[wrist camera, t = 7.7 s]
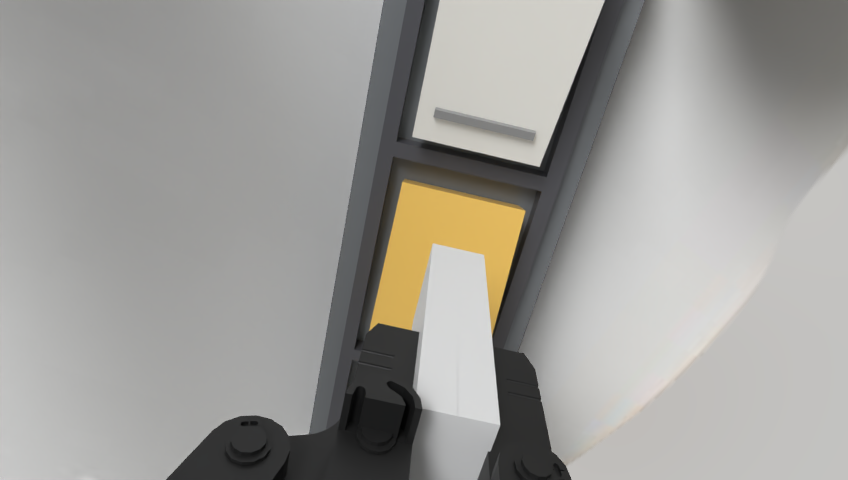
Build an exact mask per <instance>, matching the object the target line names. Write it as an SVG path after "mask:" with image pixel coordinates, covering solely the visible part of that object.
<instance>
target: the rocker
mask: <svg viewBox="0 0 848 480" xmlns="http://www.w3.org/2000/svg"><path fill="white" fill-rule="evenodd" d="M604 1H605V0H440V1H439V6H438V11H437V16H436V21H435V26H434V31H433V36H432V41H431V46H430V51H429V56H428V61H427V66H426V71H425V76H424V80H423V85H422V90H421V95H420V100H419V105H418V110H417V115H416V120H415V125H414V130H413V135H412V137H415V138H419V139H423V140H427V141H432V142H436V143H440V144H444V145H449V146H453V147H457V148H461V149H466V150H470V151H474V152H478V153H483V154H487V155H491V156H495V157H499V158H504V159H508V160H512V161H516V162H521V163H525V164H529V165H533V166H538V167H540V164H541V162H542V159H543V157H544V154H545V151H546V149H547V146H548V144H549V141H550V139H551V136H552V134H553V131H554V129H555V126H556V123H557V121H558V118H559V116H560V113H561V111H562V108H563V106H564V103H565V101H566V98H567V95H568V93H569V90H570V88H571V85H572V83H573V80H574V78H575V75H576V73H577V70H578V67H579V65H580V62H581V60H582V57H583V55H584V52H585V50H586V47H587V45H588V42H589V39H590V37H591V34H592V32H593V29H594V27H595V24H596V22H597V19H598V17H599V14H600V11H601V9H602V6H603V4H604Z"/></svg>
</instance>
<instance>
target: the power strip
mask: <svg viewBox="0 0 848 480" xmlns="http://www.w3.org/2000/svg"><path fill="white" fill-rule="evenodd" d="M439 1H440V0H384V2H383V8H382V14H381V20H380V25H379V31H378V37H377V43H376V49H375V54H374V60H373V66H372V72H371V78H370V83H369V89H368V95H367V101H366V107H365V112H364V118H363V124H362V130H361V136H360V141H359V147H358V153H357V159H356V165H355V170H354V176H353V182H352V188H351V194H350V199H349V205H348V211H347V217H346V223H345V228H344V234H343V240H342V246H341V252H340V257H339V263H338V269H337V275H336V281H335V286H334V292H333V298H332V304H331V310H330V315H329V321H328V327H327V333H326V339H325V344H324V350H323V356H322V362H321V368H320V374H319V379H318V385H317V391H316V397H315V403H314V408H313V414H312V420H311V426H310V432H309V434H315V433H319V432H321V431H324V430H327V429H328V428H330V427H331V426H333V425H334V424H336V423H337V422H338V421H339V419H340V417H341V412H342V407H343V402H344V397H345V393H346V391H347V389H348V388H349V386H350V384H351V383H353V379H354V376H355V372H356V369H357V365H358V361H359V358H360V354H361V351H362V347H363V343H364V340H365V336H366V334H367V333H368V332H369V329H370V324H371V320H372V315H373V311H374V306H375V302H376V298H377V293H378V289H379V284H380V280H381V275H382V271H383V266H384V262H385V257H386V253H387V248H388V244H389V239H390V235H391V231H392V226H393V222H394V217H395V213H396V208H397V204H398V199H399V195H400V190H401V186H402V182H403V180H404V179H408V180H412V181H416V182H421V183H425V184H429V185H434V186H438V187H442V188H446V189H451V190H455V191H459V192H463V193H468V194H472V195H476V196H481V197H485V198H489V199H493V200H498V201H502V202H506V203H510V204H515V205H518V206H520V207H521V208H523V209H524V210H525V215H524V219H523V222H522V226H521V230H520V234H519V237H518V241H517V245H516V248H515V252H514V256H513V260H512V263H511V267H510V271H509V275H508V278H507V282H506V286H505V289H504V293H503V297H502V301H501V304H500V308H499V312H498V315H497V319H496V323H495V327H494V330H493V334H492V343H493V347H496V348H501V349H506V350H510V351H515V352H518V350H519V347H520V344H521V341H522V339H523V336H524V333H525V330H526V328H527V325H528V322H529V319H530V316H531V314H532V311H533V308H534V305H535V303H536V300H537V297H538V294H539V292H540V289H541V286H542V283H543V281H544V278H545V275H546V272H547V269H548V267H549V264H550V261H551V258H552V256H553V253H554V250H555V247H556V245H557V242H558V239H559V236H560V233H561V231H562V228H563V225H564V222H565V220H566V217H567V214H568V211H569V209H570V206H571V203H572V200H573V198H574V195H575V192H576V189H577V186H578V184H579V181H580V178H581V175H582V173H583V170H584V167H585V164H586V162H587V159H588V156H589V153H590V150H591V148H592V145H593V142H594V139H595V137H596V134H597V131H598V128H599V126H600V123H601V120H602V117H603V115H604V112H605V109H606V106H607V103H608V101H609V98H610V95H611V92H612V90H613V87H614V84H615V81H616V79H617V76H618V73H619V70H620V68H621V65H622V62H623V59H624V56H625V54H626V51H627V48H628V45H629V43H630V40H631V37H632V34H633V32H634V29H635V26H636V23H637V20H638V18H639V15H640V12H641V9H642V7H643V4H644V1H645V0H605V1H604V4H603V6H602V9H601V11H600V14H599V17H598V19H597V22H596V24H595V27H594V29H593V32H592V34H591V37H590V39H589V42H588V45H587V47H586V50H585V52H584V55H583V57H582V60H581V62H580V65H579V67H578V70H577V73H576V75H575V78H574V80H573V83H572V85H571V88H570V90H569V93H568V95H567V98H566V101H565V103H564V106H563V108H562V111H561V113H560V116H559V118H558V121H557V123H556V126H555V129H554V131H553V134H552V136H551V139H550V141H549V144H548V146H547V149H546V151H545V154H544V157H543V159H542V162H541V164H540V167H538V166H533V165H529V164H525V163H521V162H516V161H512V160H508V159H504V158H499V157H495V156H491V155H487V154H483V153H478V152H474V151H470V150H466V149H461V148H457V147H453V146H449V145H444V144H440V143H436V142H432V141H427V140H423V139H419V138H415V137H412V135H413V130H414V125H415V120H416V115H417V110H418V105H419V100H420V95H421V90H422V85H423V80H424V76H425V71H426V66H427V61H428V56H429V51H430V46H431V41H432V36H433V31H434V26H435V21H436V16H437V11H438V6H439Z"/></svg>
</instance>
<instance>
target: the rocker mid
mask: <svg viewBox="0 0 848 480" xmlns="http://www.w3.org/2000/svg"><path fill="white" fill-rule="evenodd" d="M524 215H525V210H524V209H523V208H521V207H520V206H518V205H515V204H510V203H506V202H502V201H498V200H493V199H489V198H485V197H481V196H476V195H472V194H468V193H463V192H459V191H455V190H451V189H446V188H442V187H438V186H434V185H429V184H425V183H421V182H416V181H412V180H408V179H404V180H403V182H402V186H401V190H400V195H399V199H398V204H397V208H396V213H395V217H394V222H393V226H392V231H391V235H390V239H389V244H388V248H387V253H386V257H385V262H384V266H383V271H382V275H381V280H380V284H379V289H378V293H377V298H376V302H375V306H374V311H373V315H372V320H371V324H370V329H369V331H370V330H371V329H372V328H373V327H374V326H375V325H377V324H378V323H380V324H385V325H390V326H394V327H399V328H403V329H408V330H412V324H413V319H414V315H415V311H416V307H417V303H418V300H419V296H420V292H421V288H422V284H423V280H424V276H425V272H426V268H427V264H428V260H429V256H430V252H431V248H432V244H433V243H434V244H438V245H443V246H447V247H452V248H456V249H460V250H465V251H469V252H474V253H478V254H482V255H484V259H485V269H486V280H487V290H488V301H489V311H490V322H491V332H492V334H493V330H494V327H495V323H496V319H497V315H498V312H499V308H500V304H501V301H502V297H503V293H504V289H505V286H506V282H507V278H508V275H509V271H510V267H511V263H512V260H513V256H514V252H515V248H516V245H517V241H518V237H519V234H520V230H521V226H522V222H523V219H524Z"/></svg>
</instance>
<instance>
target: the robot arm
mask: <svg viewBox="0 0 848 480" xmlns="http://www.w3.org/2000/svg"><path fill="white" fill-rule="evenodd" d="M540 401H541V397H540V392H539V389H538V382H537V377H536V372H535V369H534V367H533V366H532V364H531V363H530V362H529V360H528V359H527V357H526V356H525V355H524V353H519V352H515V351H510V350H506V349H501V348H496V347H493V343H492V332H491V322H490V311H489V301H488V290H487V280H486V269H485V259H484V255H482V254H478V253H474V252H469V251H465V250H460V249H456V248H452V247H447V246H443V245H438V244H434V243H433V244H432V248H431V252H430V256H429V260H428V264H427V268H426V272H425V276H424V280H423V284H422V288H421V292H420V296H419V300H418V303H417V307H416V311H415V315H414V319H413V324H412V330H408V329H403V328H399V327H394V326H390V325H385V324H380V323H378V324H377V325H375V326H374V327H373V328H372V329H371V330H370V331H369V332H368V333H367V334H366V336H365V340H364V343H363V347H362V351H361V354H360V358H359V361H358V365H357V369H356V372H355V376H354V379H353V383H351V384H350V386H349V388H348V389H347V391H346V393H345V397H344V402H343V407H342V412H341V417H340V419H339V421H338V422H337V423H336V424H334V425H333V426H331V427H330V428H328V429H327V430H324V431H321V432H319V433H315V434H308V435H297V436H288V435H287V433H286V432H285V430H284V428H283V427H282V426H281V425H279V424H278V423H276V422H274V421H273V420H271V419H268V418H264V417H260V416H240V417H237V418H234V419H231V420H228V421H225V422H224V423H222V424H221V425H220V426H218V427H217V428H216V429H214V430H213V431H212V432H211V433H210V434H209V435H208V436H207V437H206V438H205V439H204V440H203V441H202V442H201V443H200V445H199V446H198V447H197V448H196V449H195V450H194V451H193V452H192V453H191V454H190V455H189V456H188V457H187V458H186V459H185V460H184V461H183V462H182V463H181V464H180V466H179V467H178V468H177V469H176V470H175V471H174V472H173V473H172V474H171V475H170V476H169V477H168V478H167V479H166V480H571V477H570V475H569V473H568V470H567V468H566V466H565V465H564V463H563V462H562V461H561V460H560V459H559V458H558V457H557V455H555V454H554V453H553V452H552V451H551V446H550V441H549V436H548V431H547V426H546V421H545V416H544V411H543V406H542V402H540Z"/></svg>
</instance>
